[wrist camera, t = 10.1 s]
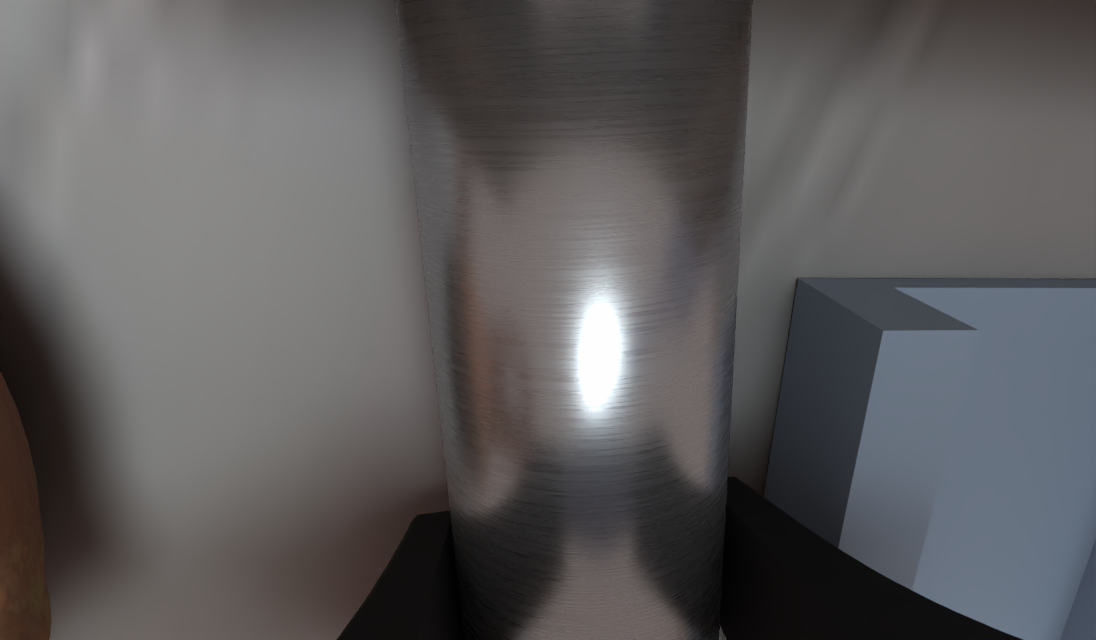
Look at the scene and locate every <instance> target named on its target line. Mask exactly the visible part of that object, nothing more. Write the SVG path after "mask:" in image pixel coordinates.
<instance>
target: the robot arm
mask: <svg viewBox="0 0 1096 640" xmlns="http://www.w3.org/2000/svg"><path fill="white" fill-rule="evenodd" d="M720 626H721V628H722V630H723V632H724V634H725V636H726V638H727V640H1023V639H1020V638H1018V637H1015V636H1013V635H1010V634H1007V633H1005V632H1002V631H1000V630H997V629H995V628H993V627H990V626H988V625H986V624H983V623H981V622H979V621H976V620H974V619H972V618H969V617H967V616H965V615H962V614H960V613H958V612H955V611H953V610H951V609H949V608H947V607H945V606H943V605H940V604H938V603H936V602H934V601H932V600H930V599H928V598H926V597H924V596H922V595H920V594H918V593H916V592H914V591H912V590H910V589H908V588H907V587H905V586H903V585H901V584H899V583H897V582H895V581H893V580H891V579H889V578H887V577H886V576H884V575H882V574H880V573H878V572H877V571H875V570H873V569H871V568H870V567H868V566H866V565H865V564H863V563H861V562H860V561H858V560H857V559H855V558H853V557H852V556H850V555H848V554H847V553H845V552H843V551H842V550H840V549H838V548H837V547H835V546H834V545H832V544H831V543H829V542H828V541H826V540H824V539H823V538H821V537H820V536H818V535H817V534H815V533H814V532H812V531H811V530H810V529H808V528H807V527H805V526H804V525H802V524H801V523H799V522H798V521H796V520H795V519H794V518H792V517H791V516H789V515H788V514H787V513H785V512H784V511H782V510H781V509H780V508H778V507H777V506H775V505H774V504H773V503H771V502H770V501H768V500H767V499H766V498H764V497H763V496H762V495H760V494H759V493H757V492H756V491H755V490H753V489H752V488H750V487H749V486H748V485H746V484H745V483H743V482H742V481H740V480H739V479H738V478H736V477H728V478H727V497H726V516H725V535H724V554H723V573H722V591H721V610H720ZM337 640H464V635H463V626H462V616H461V607H460V598H459V589H458V579H457V570H456V561H455V552H454V543H453V533H452V524H451V515H450V511H444V512H436V513H428V514H420V515H417V516H416V517H415V518H414V519H413V520H412V522H411V524H410V526H409V528H408V530H407V532H406V534H405V535H404V537H403V539H402V541H401V543H400V545H399V546H398V548H397V550H396V552H395V553H394V555H393V557H392V558H391V560H390V562H389V564H388V565H387V567H386V569H385V570H384V572H383V573H382V575H381V576H380V578H379V580H378V581H377V583H376V584H375V586H374V587H373V589H372V591H371V592H370V594H369V595H368V597H367V598H366V600H365V601H364V603H363V604H362V606H361V607H360V608H359V610H358V611H357V612H356V614H355V615H354V617H353V618H352V619H351V621H350V622H349V623H348V625H347V626H346V628H345V629H344V630H343V632H342V633H341V635H340V636H339V637H338V639H337Z"/></svg>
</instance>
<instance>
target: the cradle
mask: <svg viewBox="0 0 1096 640" xmlns="http://www.w3.org/2000/svg"><path fill="white" fill-rule="evenodd" d="M764 498H766V499H767V500H768V501H770V502H771V503H773V504H774V505H775V506H777V507H778V508H780V509H781V510H782V511H784V512H785V513H787V514H788V515H789V516H791V517H792V518H794V519H795V520H796V521H798V522H799V523H801V524H802V525H804V526H805V527H807V528H808V529H810V530H811V531H812V532H814V533H815V534H817V535H818V536H820V537H821V538H823V539H824V540H826V541H828V542H829V543H831V544H832V545H834V546H835V547H837V548H838V549H840V550H842V551H843V552H845V553H847V554H848V555H850V556H852V557H853V558H855V559H857V560H858V561H860V562H861V563H863V564H865V565H866V566H868V567H870V568H871V569H873V570H875V571H877V572H878V573H880V574H882V575H884V576H886V577H887V578H889V579H891V580H893V581H895V582H897V583H899V584H901V585H903V586H905V587H907V588H908V589H910V590H912V591H914V592H916V593H918V594H920V595H922V596H924V597H926V598H928V599H930V600H932V601H934V602H936V603H938V604H940V605H943V606H945V607H947V608H949V609H951V610H953V611H955V612H958V613H960V614H962V615H965V616H967V617H969V618H972V619H974V620H976V621H979V622H981V623H983V624H986V625H988V626H990V627H993V628H995V629H997V630H1000V631H1002V632H1005V633H1007V634H1010V635H1013V636H1015V637H1018V638H1020V639H1023V640H1096V279H888V278H798V283H797V289H796V295H795V302H794V308H793V314H792V320H791V327H790V333H789V339H788V346H787V352H786V358H785V365H784V371H783V377H782V384H781V390H780V396H779V403H778V409H777V415H776V421H775V428H774V434H773V440H772V447H771V453H770V459H769V466H768V472H767V478H766V485H765V491H764Z"/></svg>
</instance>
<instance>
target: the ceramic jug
mask: <svg viewBox="0 0 1096 640" xmlns="http://www.w3.org/2000/svg"><path fill="white" fill-rule="evenodd" d="M50 629H51V609H50V600H49V595H48V588H47V583H46V570H45V543H44V536H43V532H42V523H41V515H40V505H39V494H38V489H37V478H36V473H35V469H34V465H33V463H32V457H31V453H30V448H29V444H28V441H27V437H26V434H25V432H24V428H23V425H22V422H21V419H20V415H19V412H18V409H17V407H16V404H15V402H14V400H13V398H12V396H11V393H10V391H9V389H8V387H7V385H6V382H5V380H4V377H3V375H2V373H1V371H0V640H49V637H50Z"/></svg>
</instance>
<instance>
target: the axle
mask: <svg viewBox="0 0 1096 640" xmlns="http://www.w3.org/2000/svg"><path fill="white" fill-rule="evenodd" d="M752 5H753V0H395V8H396V17H397V26H398V36H399V45H400V54H401V63H402V73H403V82H404V91H405V100H406V109H407V119H408V128H409V137H410V146H411V155H412V165H413V174H414V183H415V192H416V202H417V211H418V220H419V229H420V238H421V248H422V257H423V266H424V275H425V285H426V294H427V303H428V312H429V321H430V331H431V340H432V349H433V358H434V367H435V377H436V386H437V395H438V404H439V414H440V423H441V432H442V441H443V450H444V460H445V469H446V478H447V487H448V497H449V506H450V515H451V524H452V533H453V543H454V552H455V561H456V570H457V579H458V589H459V598H460V607H461V616H462V626H463V635H464V640H719V629H720V610H721V591H722V573H723V554H724V535H725V516H726V497H727V478H728V459H729V440H730V421H731V402H732V383H733V364H734V346H735V327H736V308H737V289H738V270H739V251H740V232H741V213H742V194H743V175H744V156H745V138H746V119H747V100H748V81H749V62H750V43H751V24H752Z"/></svg>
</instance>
